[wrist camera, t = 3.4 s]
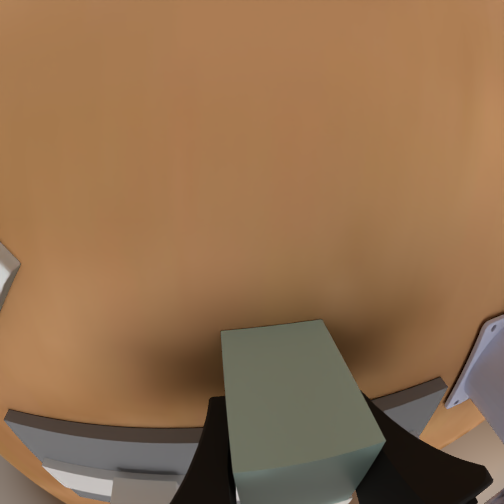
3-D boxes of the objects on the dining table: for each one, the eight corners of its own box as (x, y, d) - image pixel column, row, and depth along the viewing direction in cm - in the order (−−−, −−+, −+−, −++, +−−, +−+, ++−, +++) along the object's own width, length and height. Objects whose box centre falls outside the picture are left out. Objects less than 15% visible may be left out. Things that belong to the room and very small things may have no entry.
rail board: (440, 377, 15) (476, 425, 11) (389, 463, 20) (407, 500, 15) (8, 409, 12) (-14, 460, 8) (81, 487, 17) (75, 527, 13)
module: (321, 319, 12) (386, 440, 6) (311, 398, 14) (347, 499, 8) (220, 331, 11) (232, 472, 6) (231, 409, 13) (244, 519, 8)
